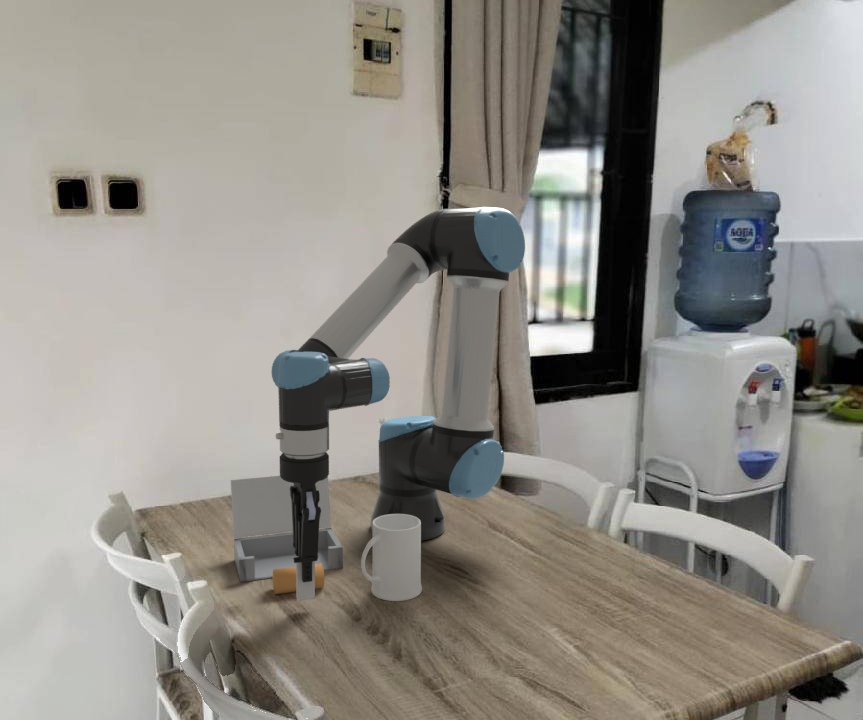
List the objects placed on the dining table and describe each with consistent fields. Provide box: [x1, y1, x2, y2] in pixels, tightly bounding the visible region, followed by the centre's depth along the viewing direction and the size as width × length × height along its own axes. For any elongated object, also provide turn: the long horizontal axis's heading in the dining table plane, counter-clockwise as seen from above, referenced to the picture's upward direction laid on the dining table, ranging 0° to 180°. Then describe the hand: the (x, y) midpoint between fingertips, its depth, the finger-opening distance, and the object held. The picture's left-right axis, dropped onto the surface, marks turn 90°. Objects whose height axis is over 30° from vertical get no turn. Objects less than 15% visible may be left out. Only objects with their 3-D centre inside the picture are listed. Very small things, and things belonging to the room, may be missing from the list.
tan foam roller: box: [272, 563, 325, 595], centre depth 129 cm, size 8×4×4 cm, turn 109°
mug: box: [360, 514, 423, 602], centre depth 127 cm, size 12×8×12 cm
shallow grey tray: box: [233, 527, 344, 583], centre depth 139 cm, size 18×10×4 cm, turn 109°
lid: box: [230, 475, 332, 539], centre depth 144 cm, size 18×10×1 cm
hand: (305, 597), depth 121 cm, fingers closed
